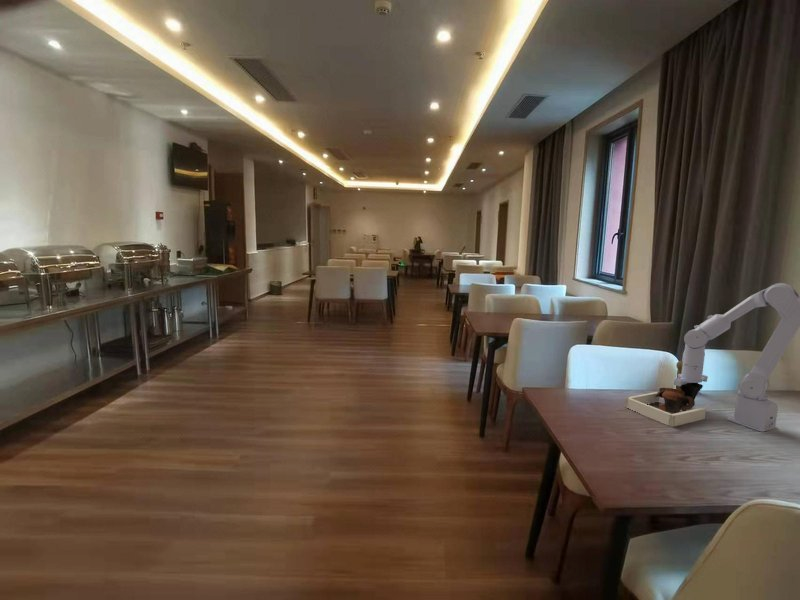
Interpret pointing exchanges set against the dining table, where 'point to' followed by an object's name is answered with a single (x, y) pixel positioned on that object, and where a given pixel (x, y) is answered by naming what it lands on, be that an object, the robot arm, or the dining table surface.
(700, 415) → the box
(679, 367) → the cork
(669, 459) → the dining table surface
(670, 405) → the pottery mug
